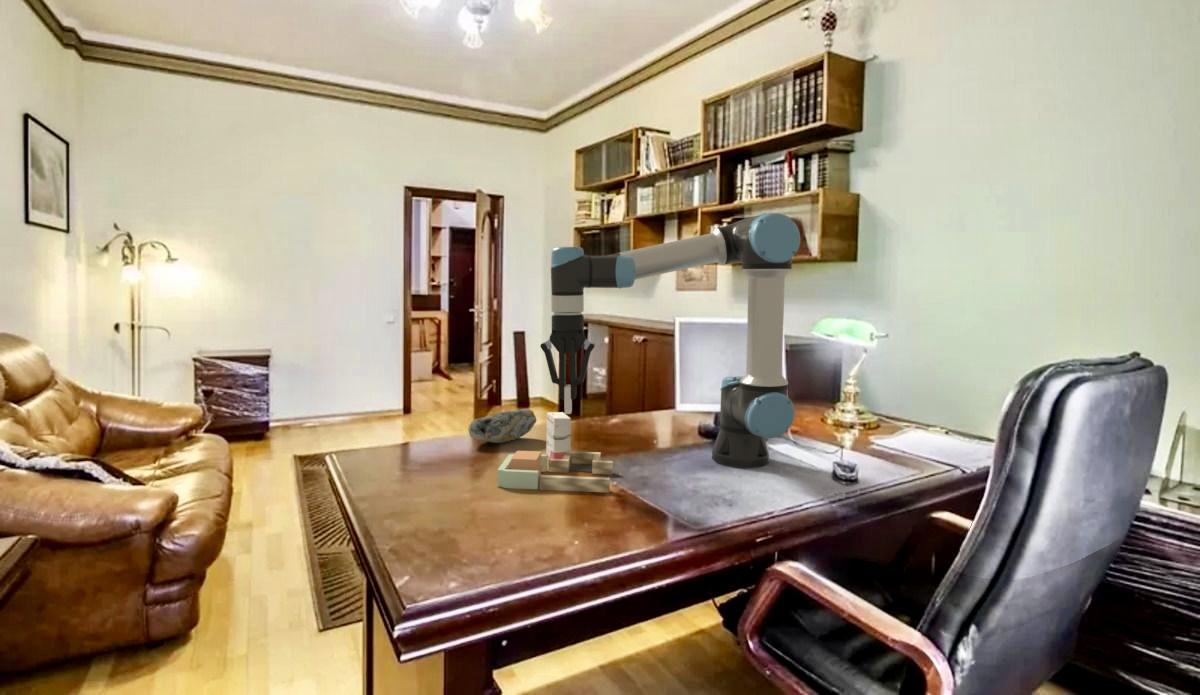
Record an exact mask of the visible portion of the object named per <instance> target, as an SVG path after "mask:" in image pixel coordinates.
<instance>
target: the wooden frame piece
mask: <svg viewBox="0 0 1200 695" xmlns="http://www.w3.org/2000/svg"><path fill="white" fill-rule="evenodd" d="M601 454H602V452H598V451H574V450H573V451H572V450H571V451H566V454H565V456H564V458H563V459H551V458H548V459H547V471H548V472H549V473H568V474H569V472H587V473H589V472H591V474H594V475H613V466H614V463H613V460H601ZM610 480H611V478H610V477H596V476H576V475H556V474H555V475H551V474H541V476H540V478H539V490H541V491H542V490H543V491H544V490H545V491H562V492H563V491H564V492H567V491H568V492H586V493H587V492H588V493H590V492H591V493H606V494H607V493H610V490H611V486H610V484H611V481H610Z"/></svg>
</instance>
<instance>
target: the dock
mask: <svg viewBox="0 0 1200 695" xmlns="http://www.w3.org/2000/svg"><path fill="white" fill-rule="evenodd" d="M514 454H515V453H509V454H508V455H507V456H506V458H505V459H504V461H503V462H502V463H501V465H500V466H499V467H498V468H497V470H496V471H497V475H496V476H497V479H496V480H497V488H498V487H499V488H503V489H514V490H515V489H517V490H539V489H540V478H539V471H536V470H511V458H512V457H513V456H514ZM547 471H548V455H547V454H542V453H541V473H542V472H543V473H546V472H547Z"/></svg>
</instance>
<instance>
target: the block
mask: <svg viewBox="0 0 1200 695" xmlns="http://www.w3.org/2000/svg"><path fill="white" fill-rule="evenodd" d="M513 454H514V456H513V457H512V458H511V470H536V471H539V479H540V476H541V475H542V472H541V454H542V451H536V450H535V451H532V450H531V451H529V450H516V452H514V453H513Z"/></svg>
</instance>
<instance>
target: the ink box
mask: <svg viewBox="0 0 1200 695" xmlns="http://www.w3.org/2000/svg"><path fill="white" fill-rule="evenodd" d="M571 420H572V418H571V417H570V416H568V414H564V412H563V411H561V412H560V411H559V412H558V411H550V412H547V413H546V445H545V446H546V447H545V449H546V451H545V453H546V454H545V455H547V457H548V458H549V459H563V458H564V456H565V454H566V451H572V448H571V446H572V445H571V443H572V441H571V440H572V439H571V438H572V437H571V436H572V433H571V432H572V421H571Z"/></svg>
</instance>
